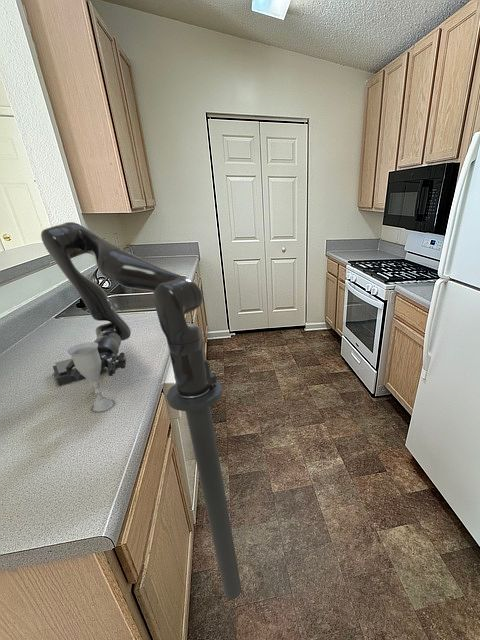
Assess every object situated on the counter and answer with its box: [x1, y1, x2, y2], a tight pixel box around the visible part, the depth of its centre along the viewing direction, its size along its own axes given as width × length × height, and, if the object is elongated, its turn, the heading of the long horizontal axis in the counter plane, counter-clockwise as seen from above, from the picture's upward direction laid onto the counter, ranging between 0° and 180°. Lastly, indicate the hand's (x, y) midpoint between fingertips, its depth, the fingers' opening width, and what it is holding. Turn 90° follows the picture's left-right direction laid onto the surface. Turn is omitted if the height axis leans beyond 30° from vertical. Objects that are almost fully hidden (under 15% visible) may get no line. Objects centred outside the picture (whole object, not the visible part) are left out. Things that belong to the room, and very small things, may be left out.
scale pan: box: [54, 358, 73, 374], centre depth 110 cm, size 11×9×1 cm
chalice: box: [66, 341, 114, 412], centre depth 89 cm, size 7×7×18 cm
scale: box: [52, 364, 106, 387], centre depth 110 cm, size 13×11×3 cm
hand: (92, 375), depth 88 cm, fingers open, 8 cm apart
